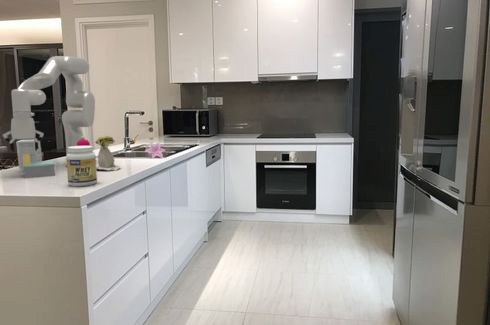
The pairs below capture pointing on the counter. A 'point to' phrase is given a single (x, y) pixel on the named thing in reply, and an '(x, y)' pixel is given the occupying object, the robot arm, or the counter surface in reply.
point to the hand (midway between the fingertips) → (24, 151)
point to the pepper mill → (83, 142)
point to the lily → (155, 150)
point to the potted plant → (105, 154)
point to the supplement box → (28, 147)
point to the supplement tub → (81, 166)
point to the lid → (32, 164)
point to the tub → (39, 171)
